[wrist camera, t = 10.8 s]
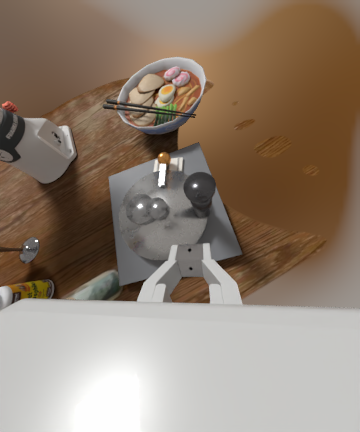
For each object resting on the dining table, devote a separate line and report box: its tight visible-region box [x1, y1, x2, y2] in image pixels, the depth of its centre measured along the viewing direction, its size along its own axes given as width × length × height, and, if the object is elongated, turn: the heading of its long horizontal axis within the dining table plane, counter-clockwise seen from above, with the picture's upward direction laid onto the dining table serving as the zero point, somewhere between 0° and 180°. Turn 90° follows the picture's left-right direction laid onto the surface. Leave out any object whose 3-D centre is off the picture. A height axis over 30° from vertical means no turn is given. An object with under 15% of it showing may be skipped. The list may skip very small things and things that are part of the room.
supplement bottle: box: [0, 279, 54, 311], centre depth 27 cm, size 6×6×10 cm
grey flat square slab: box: [109, 142, 242, 286], centre depth 30 cm, size 27×25×3 cm
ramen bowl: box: [103, 57, 206, 134], centre depth 34 cm, size 25×23×8 cm
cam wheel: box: [119, 152, 216, 260], centre depth 23 cm, size 20×23×12 cm
